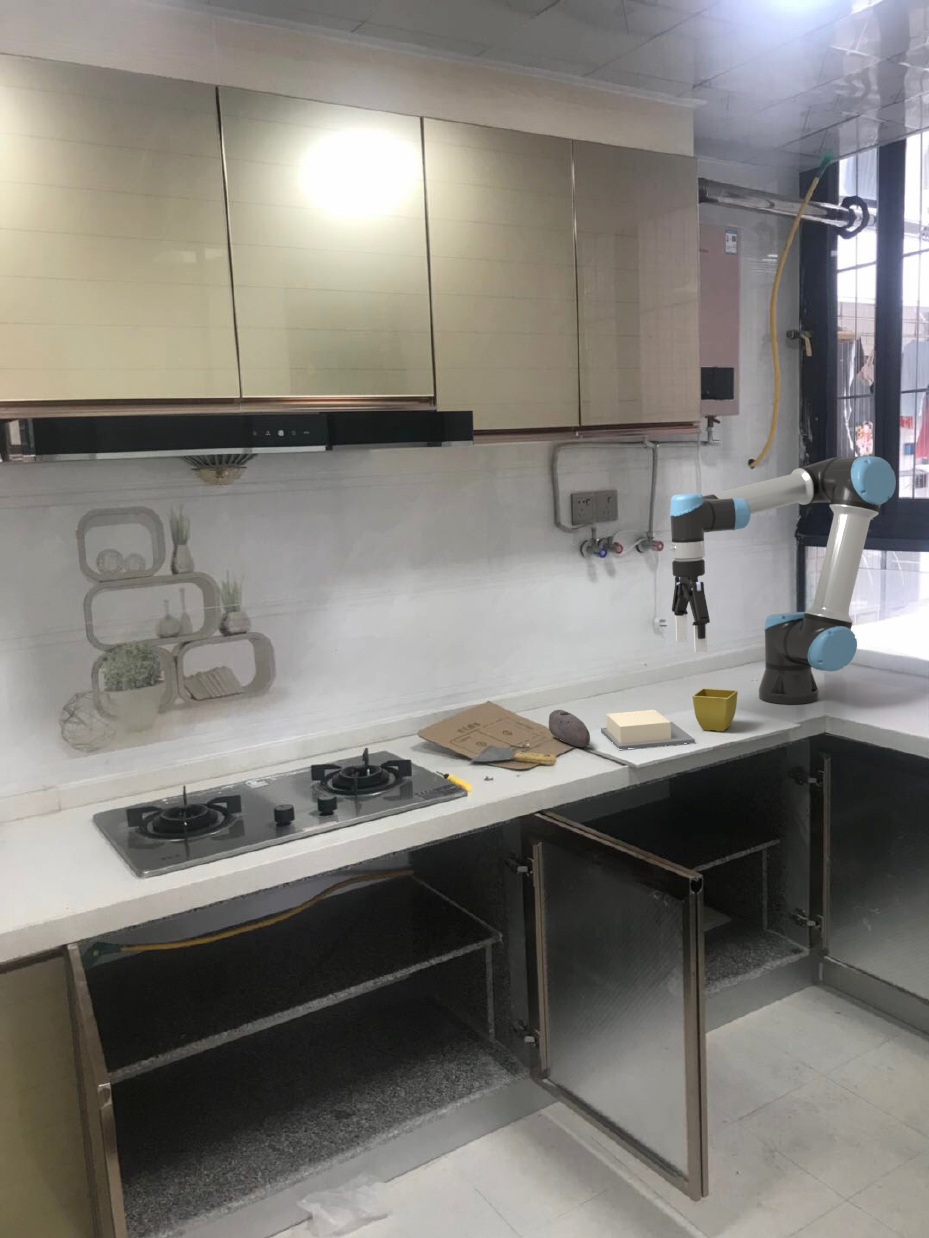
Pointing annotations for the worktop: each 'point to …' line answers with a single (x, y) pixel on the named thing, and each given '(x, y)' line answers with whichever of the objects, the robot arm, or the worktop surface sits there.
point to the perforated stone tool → (569, 728)
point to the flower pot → (715, 708)
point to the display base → (674, 739)
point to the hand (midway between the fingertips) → (690, 646)
